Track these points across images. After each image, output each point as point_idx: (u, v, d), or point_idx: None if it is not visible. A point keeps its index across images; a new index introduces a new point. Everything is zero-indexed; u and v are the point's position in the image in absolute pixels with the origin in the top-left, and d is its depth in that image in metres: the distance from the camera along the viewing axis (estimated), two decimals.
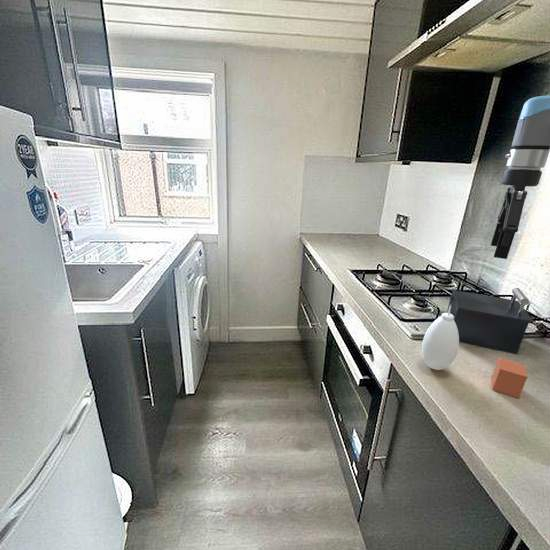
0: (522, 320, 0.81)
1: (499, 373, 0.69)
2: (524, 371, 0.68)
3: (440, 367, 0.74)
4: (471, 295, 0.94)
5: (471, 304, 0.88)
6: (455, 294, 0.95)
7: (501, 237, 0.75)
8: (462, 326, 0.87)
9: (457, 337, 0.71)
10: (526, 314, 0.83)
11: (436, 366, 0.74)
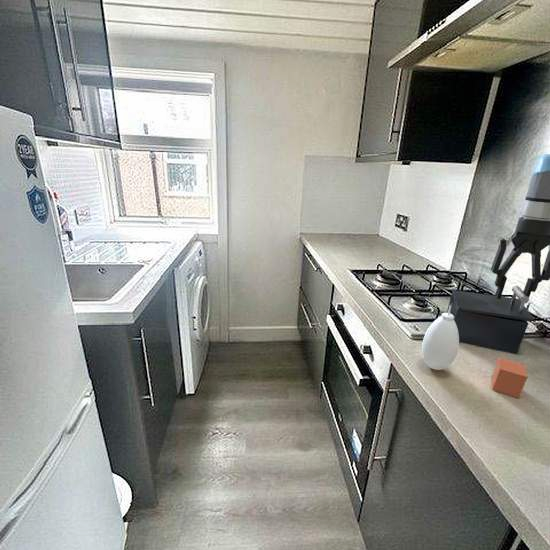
0: (523, 318, 0.81)
1: (499, 373, 0.69)
2: (524, 371, 0.68)
3: (440, 367, 0.74)
4: (471, 295, 0.94)
5: (471, 304, 0.88)
6: (455, 294, 0.95)
7: None
8: (462, 326, 0.87)
9: (457, 337, 0.71)
10: (527, 312, 0.83)
11: (437, 366, 0.74)
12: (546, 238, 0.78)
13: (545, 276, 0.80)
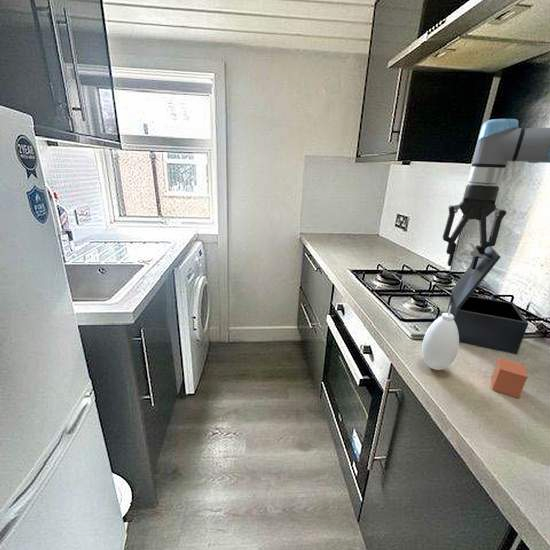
0: (492, 264, 0.79)
1: (499, 373, 0.69)
2: (524, 371, 0.68)
3: (440, 367, 0.74)
4: (461, 280, 0.94)
5: (462, 291, 0.88)
6: (453, 293, 0.95)
7: None
8: (462, 326, 0.87)
9: (457, 337, 0.71)
10: (492, 253, 0.82)
11: (437, 366, 0.74)
12: (491, 204, 0.80)
13: (491, 242, 0.83)
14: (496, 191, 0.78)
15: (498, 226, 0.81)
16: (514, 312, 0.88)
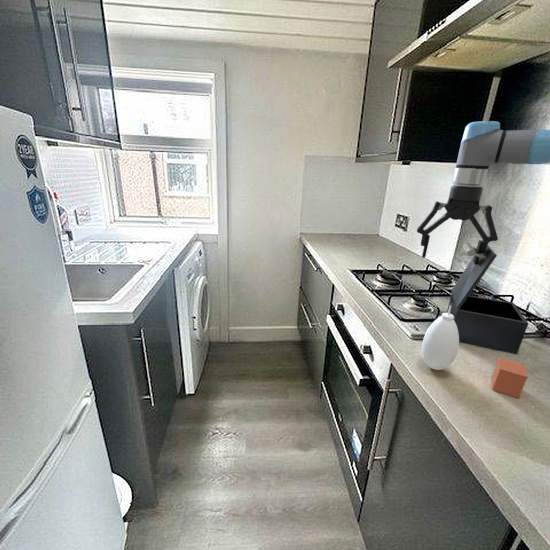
0: (489, 262, 0.80)
1: (499, 373, 0.69)
2: (524, 371, 0.68)
3: (440, 367, 0.74)
4: (460, 280, 0.94)
5: (462, 291, 0.88)
6: (453, 293, 0.95)
7: None
8: (462, 326, 0.87)
9: (457, 337, 0.71)
10: (489, 252, 0.82)
11: (437, 366, 0.74)
12: (475, 204, 0.82)
13: (492, 237, 0.82)
14: (480, 191, 0.79)
15: (491, 221, 0.81)
16: (514, 312, 0.88)
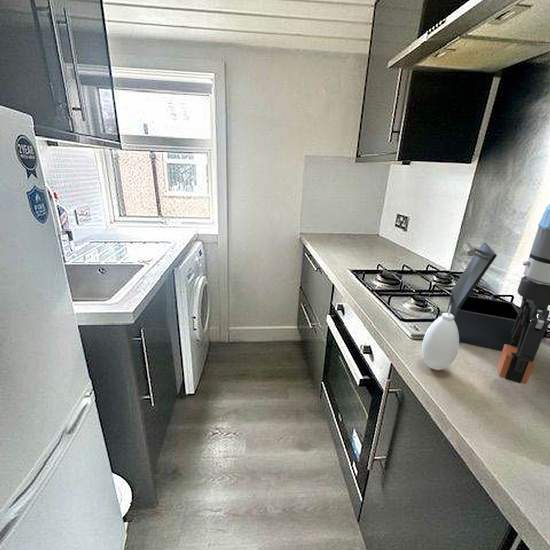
0: (489, 262, 0.80)
1: (506, 359, 0.67)
2: None
3: (440, 367, 0.74)
4: (460, 280, 0.94)
5: (462, 291, 0.88)
6: (453, 293, 0.95)
7: (514, 360, 0.66)
8: (462, 326, 0.87)
9: (457, 337, 0.71)
10: (489, 252, 0.82)
11: (437, 366, 0.74)
12: None
13: None
14: None
15: None
16: (514, 312, 0.88)
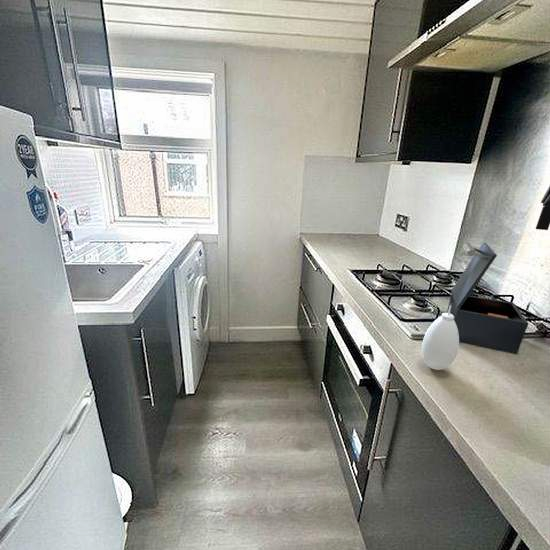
0: (489, 262, 0.80)
1: None
2: None
3: (440, 367, 0.74)
4: (460, 280, 0.94)
5: (462, 291, 0.88)
6: (453, 293, 0.95)
7: None
8: (462, 326, 0.87)
9: (457, 337, 0.71)
10: (489, 252, 0.82)
11: (437, 366, 0.74)
12: None
13: None
14: None
15: None
16: (514, 312, 0.88)
